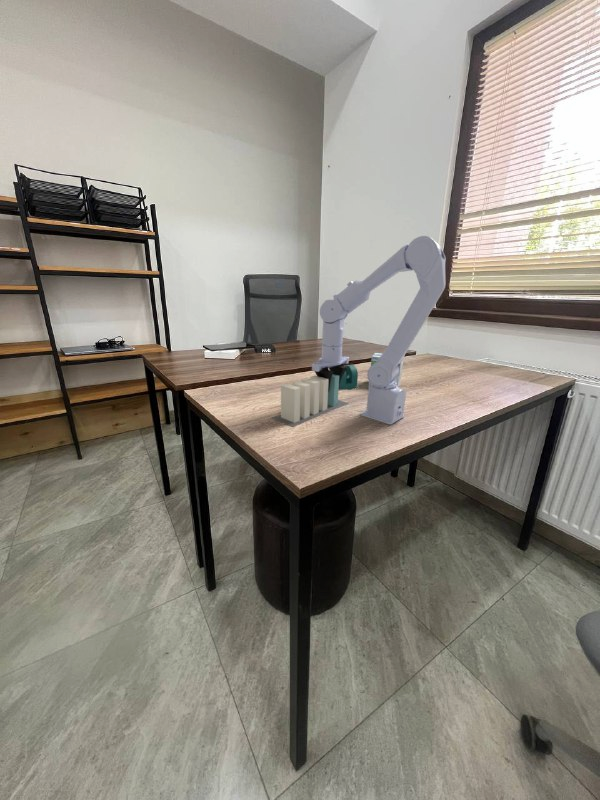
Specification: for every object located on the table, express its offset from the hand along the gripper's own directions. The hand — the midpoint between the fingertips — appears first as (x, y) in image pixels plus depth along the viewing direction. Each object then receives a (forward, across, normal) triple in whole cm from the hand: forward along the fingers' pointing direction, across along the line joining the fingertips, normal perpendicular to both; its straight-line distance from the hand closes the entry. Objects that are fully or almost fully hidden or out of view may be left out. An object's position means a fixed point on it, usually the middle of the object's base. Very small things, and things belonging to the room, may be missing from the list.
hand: (329, 390), depth 91 cm
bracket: (+5, -20, -13) cm, 25 cm away
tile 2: (+4, +5, 0) cm, 6 cm away
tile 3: (+4, +9, 0) cm, 10 cm away
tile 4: (+4, +13, 0) cm, 13 cm away
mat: (+4, +8, 0) cm, 9 cm away
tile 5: (+4, +16, 0) cm, 17 cm away
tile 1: (+4, 0, 0) cm, 4 cm away
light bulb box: (+5, -32, +1) cm, 32 cm away
